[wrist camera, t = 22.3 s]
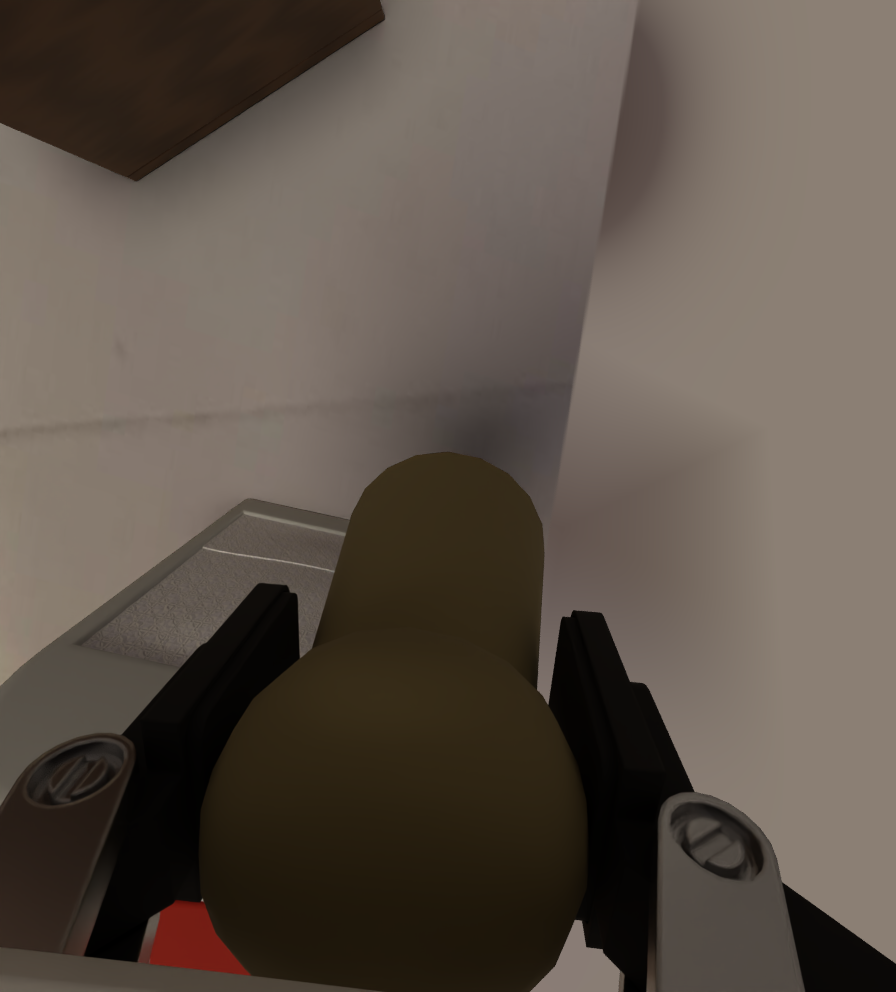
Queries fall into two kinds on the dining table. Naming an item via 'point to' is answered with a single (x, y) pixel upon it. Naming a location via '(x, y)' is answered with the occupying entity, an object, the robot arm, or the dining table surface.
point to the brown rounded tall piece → (407, 761)
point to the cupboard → (156, 68)
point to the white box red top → (166, 660)
